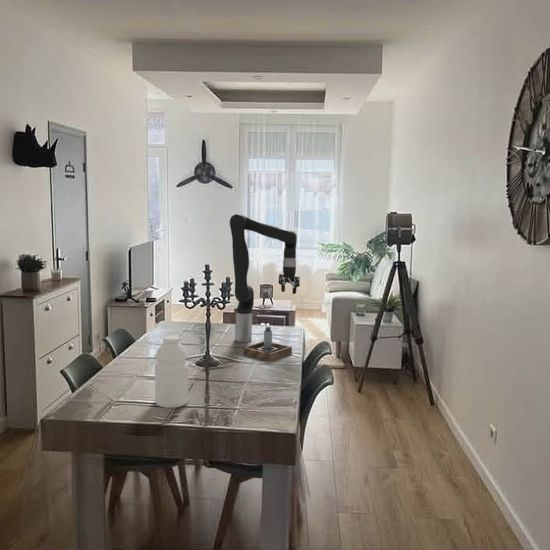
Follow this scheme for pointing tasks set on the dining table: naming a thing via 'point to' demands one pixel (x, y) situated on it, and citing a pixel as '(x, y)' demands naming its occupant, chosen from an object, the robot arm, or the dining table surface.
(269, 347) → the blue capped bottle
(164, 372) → the bottle
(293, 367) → the dining table surface
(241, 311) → the robot arm
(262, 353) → the wooden box
